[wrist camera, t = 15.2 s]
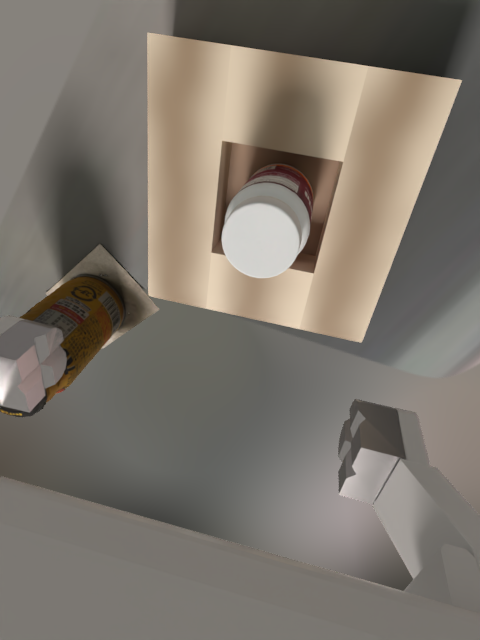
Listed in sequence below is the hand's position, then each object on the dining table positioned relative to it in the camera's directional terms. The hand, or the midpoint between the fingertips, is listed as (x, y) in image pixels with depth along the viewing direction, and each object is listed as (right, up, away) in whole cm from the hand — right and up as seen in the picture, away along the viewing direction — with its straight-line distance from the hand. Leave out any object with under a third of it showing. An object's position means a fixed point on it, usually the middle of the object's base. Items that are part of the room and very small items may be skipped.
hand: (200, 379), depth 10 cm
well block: (+4, +10, +16) cm, 20 cm away
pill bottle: (+4, +10, +16) cm, 19 cm away
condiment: (-11, +4, +25) cm, 27 cm away
